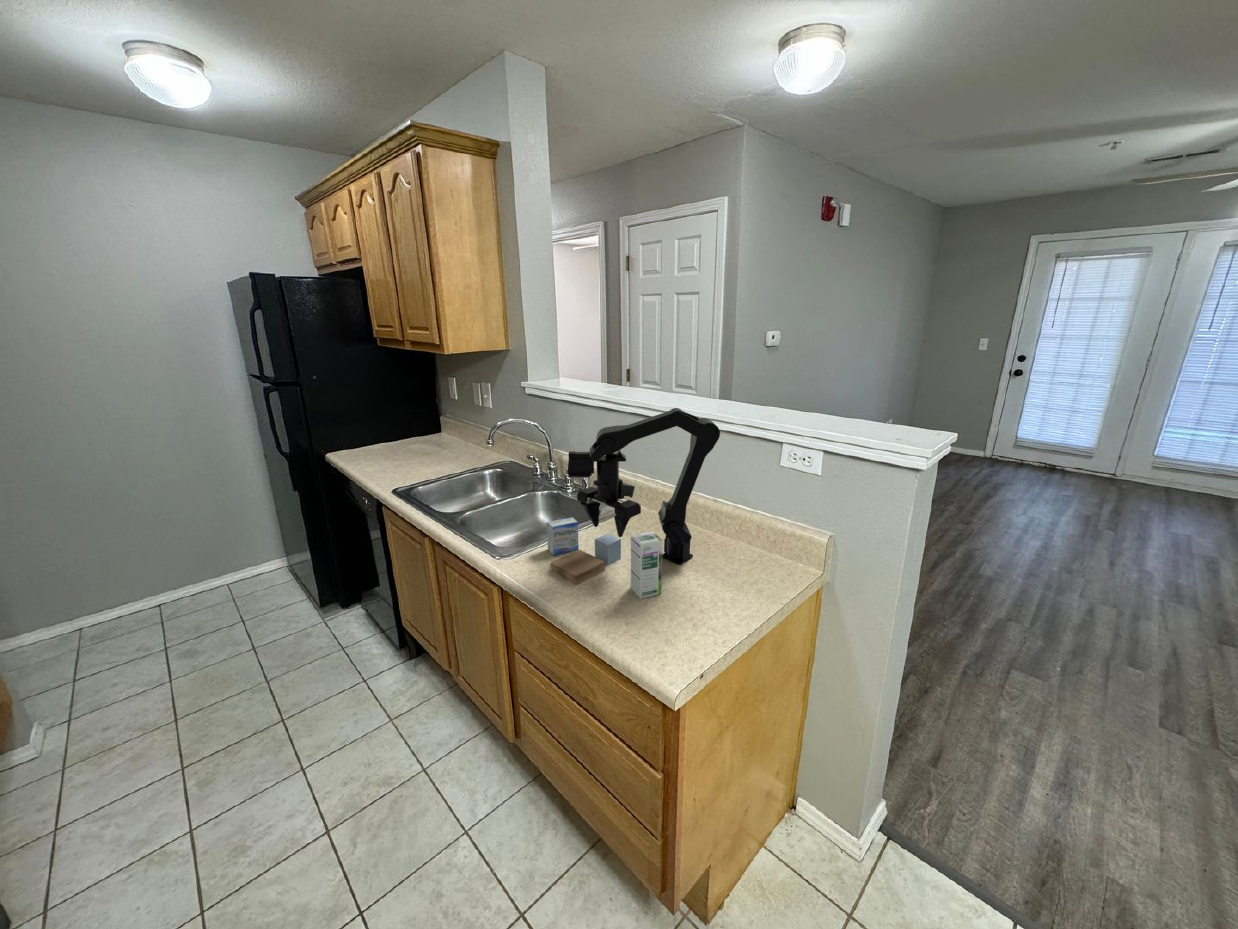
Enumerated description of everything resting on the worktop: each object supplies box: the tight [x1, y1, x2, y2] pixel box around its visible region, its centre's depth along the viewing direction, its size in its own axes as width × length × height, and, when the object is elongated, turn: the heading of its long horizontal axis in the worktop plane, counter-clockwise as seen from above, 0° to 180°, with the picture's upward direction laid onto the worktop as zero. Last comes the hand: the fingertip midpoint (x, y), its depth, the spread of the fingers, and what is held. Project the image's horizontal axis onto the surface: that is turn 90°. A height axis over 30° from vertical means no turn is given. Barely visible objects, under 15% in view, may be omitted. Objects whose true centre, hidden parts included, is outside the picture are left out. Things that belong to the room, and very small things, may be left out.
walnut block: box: [550, 549, 606, 586], centre depth 131 cm, size 10×10×3 cm
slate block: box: [594, 533, 622, 566], centre depth 137 cm, size 5×5×6 cm
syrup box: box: [630, 530, 663, 600], centre depth 120 cm, size 6×6×14 cm
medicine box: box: [546, 516, 580, 556], centre depth 141 cm, size 8×4×9 cm, turn 117°
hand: (608, 531), depth 135 cm, fingers open, 9 cm apart
